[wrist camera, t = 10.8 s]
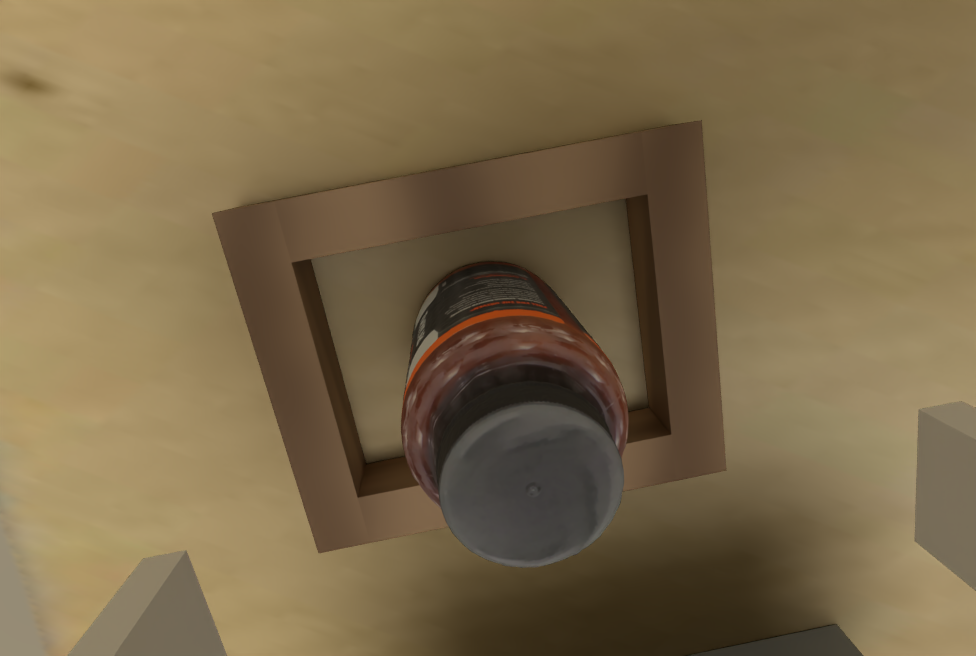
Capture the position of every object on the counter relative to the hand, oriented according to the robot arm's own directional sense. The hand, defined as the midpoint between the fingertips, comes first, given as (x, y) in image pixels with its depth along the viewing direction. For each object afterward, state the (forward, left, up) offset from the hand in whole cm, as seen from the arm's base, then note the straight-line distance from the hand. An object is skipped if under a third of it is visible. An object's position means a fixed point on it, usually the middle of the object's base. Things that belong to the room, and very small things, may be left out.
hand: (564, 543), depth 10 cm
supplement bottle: (0, 0, -13) cm, 13 cm away
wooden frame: (0, 0, -13) cm, 13 cm away
